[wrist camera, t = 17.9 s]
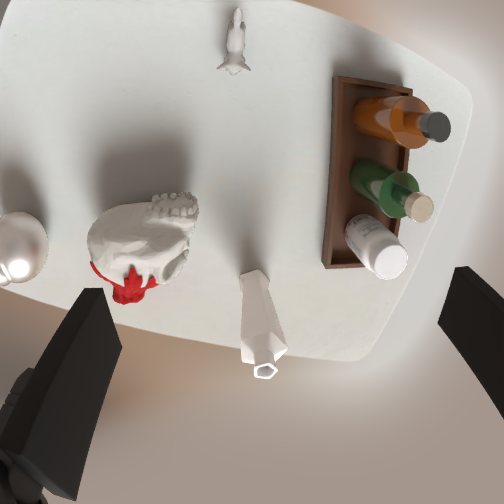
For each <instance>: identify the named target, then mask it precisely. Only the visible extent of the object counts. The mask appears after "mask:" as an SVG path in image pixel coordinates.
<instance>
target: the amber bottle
mask: <svg viewBox="0 0 504 504" xmlns="http://www.w3.org/2000/svg"><path fill="white" fill-rule="evenodd" d="M352 119H353V123H354V126H355V128H356V129H357V130H358V132H359V133H361V134H362V135H364V136H366V137H369V138H373V139H377V140H380V141H384V142H388V143H391V144H395V145H398V146H402V147H405V148H409V149H417V148H420V147H422V146H423V145H425V144H426V143H427V142H428V140H432V141H435V142H444V141H445V140H447V138H448V137H449V135H450V131H451V125H450V121H449V119H448V118H447V116H446V115H445V114H443V113H441V112H435V111H430V109H429V108H428V106H427V105H426V104H425V103H424V102H423V101H422V100H420V99H419V98H417V97H414V96H375V97H365V98H362V99H360V100H359V101H358V102H357V103H356V104H355V106H354V108H353V112H352Z"/></svg>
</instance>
